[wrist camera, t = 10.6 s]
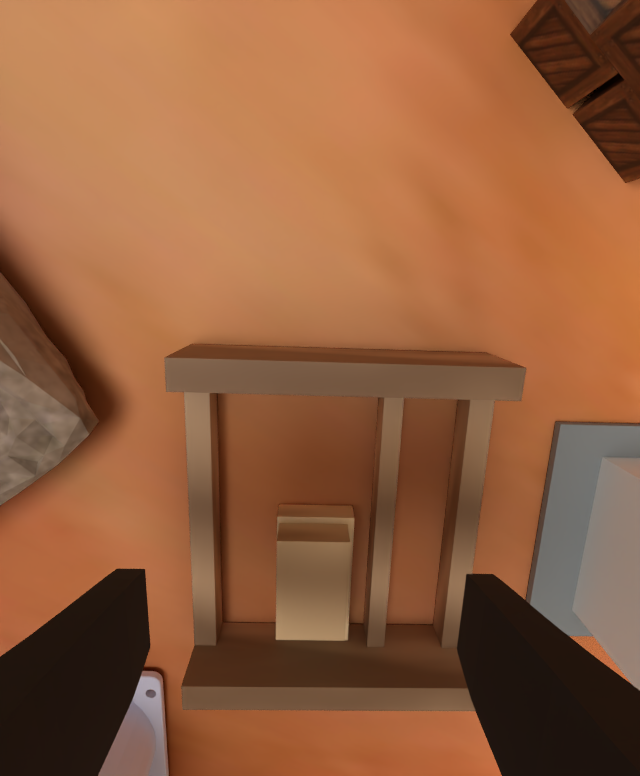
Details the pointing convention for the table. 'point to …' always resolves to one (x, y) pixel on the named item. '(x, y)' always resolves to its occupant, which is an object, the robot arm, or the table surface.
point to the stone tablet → (34, 399)
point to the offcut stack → (313, 571)
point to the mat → (571, 513)
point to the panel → (614, 566)
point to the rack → (374, 637)
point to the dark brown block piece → (592, 68)
